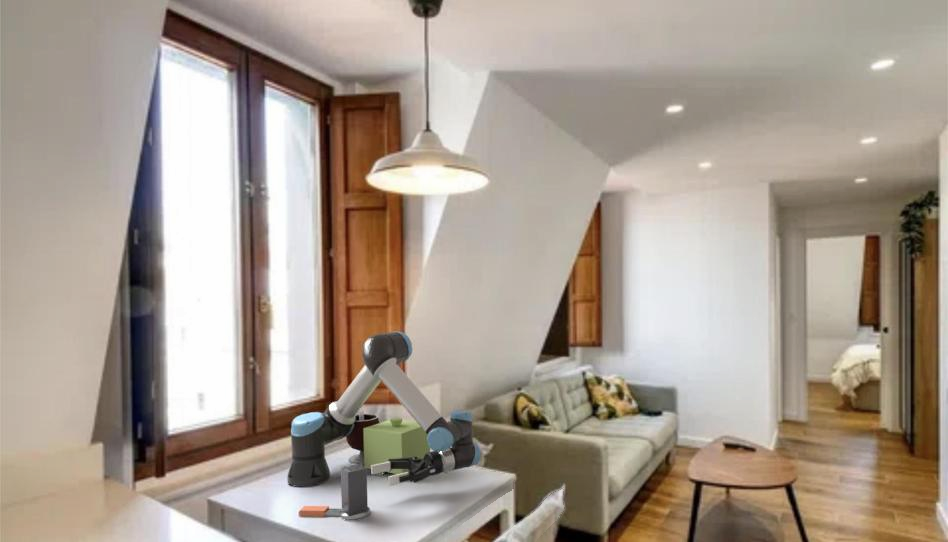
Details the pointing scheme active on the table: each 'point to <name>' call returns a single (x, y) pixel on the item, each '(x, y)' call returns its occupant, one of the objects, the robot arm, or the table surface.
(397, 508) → the table surface
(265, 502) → the table surface
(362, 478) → the dark grey block
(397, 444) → the container
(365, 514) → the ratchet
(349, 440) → the mate gourd
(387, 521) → the table surface
